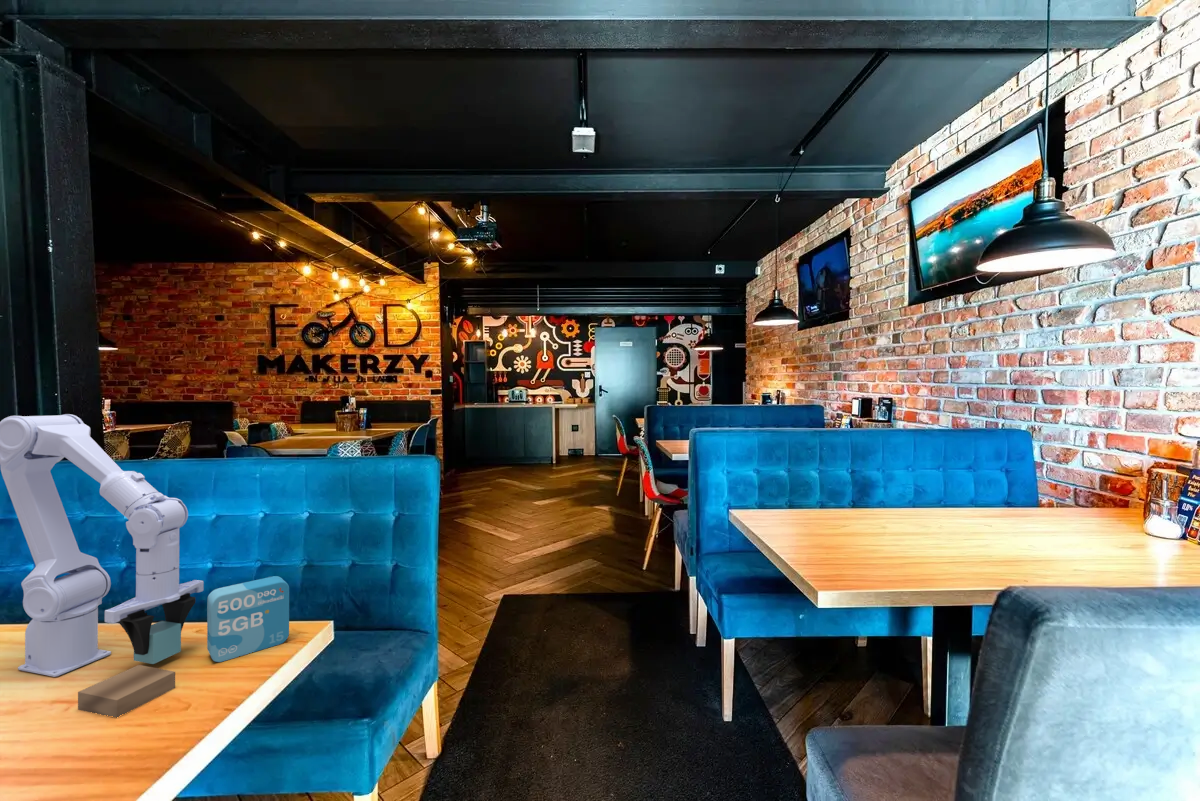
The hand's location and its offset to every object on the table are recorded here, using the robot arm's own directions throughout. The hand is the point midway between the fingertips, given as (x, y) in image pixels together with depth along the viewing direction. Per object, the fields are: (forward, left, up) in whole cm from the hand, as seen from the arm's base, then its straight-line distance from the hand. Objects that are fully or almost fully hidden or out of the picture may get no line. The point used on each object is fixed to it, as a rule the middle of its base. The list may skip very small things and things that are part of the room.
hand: (157, 646), depth 89 cm
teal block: (0, 0, -2) cm, 2 cm away
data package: (+11, +8, -3) cm, 14 cm away
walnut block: (+7, -9, -3) cm, 12 cm away
